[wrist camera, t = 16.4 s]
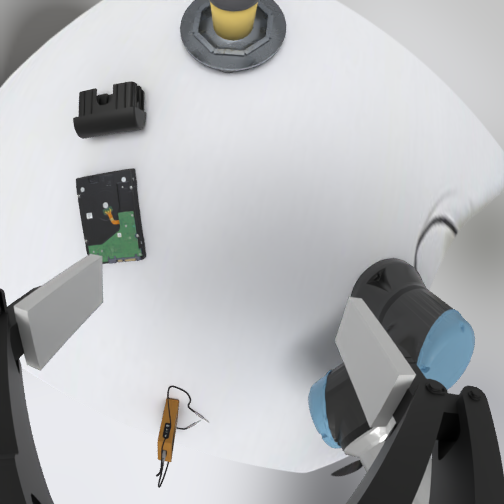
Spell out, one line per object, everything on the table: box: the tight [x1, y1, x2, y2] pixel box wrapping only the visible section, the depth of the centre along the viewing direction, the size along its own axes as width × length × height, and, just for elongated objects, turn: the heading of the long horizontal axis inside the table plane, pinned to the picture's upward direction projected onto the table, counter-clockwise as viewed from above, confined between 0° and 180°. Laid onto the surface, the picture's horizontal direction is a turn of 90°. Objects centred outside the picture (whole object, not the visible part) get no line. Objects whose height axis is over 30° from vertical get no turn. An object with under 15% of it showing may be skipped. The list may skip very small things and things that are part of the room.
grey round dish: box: [180, 0, 286, 73], centre depth 37 cm, size 16×16×4 cm
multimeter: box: [156, 386, 208, 487], centre depth 50 cm, size 15×10×20 cm
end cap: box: [73, 82, 146, 139], centre depth 38 cm, size 10×7×7 cm
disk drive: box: [76, 169, 146, 264], centre depth 45 cm, size 10×3×15 cm
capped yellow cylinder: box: [210, 0, 259, 41], centre depth 30 cm, size 6×6×12 cm
